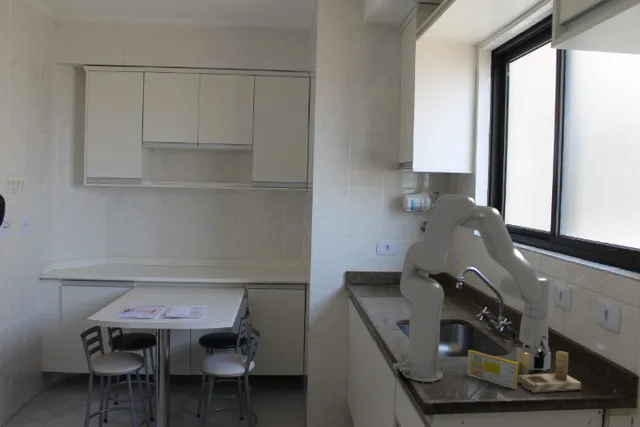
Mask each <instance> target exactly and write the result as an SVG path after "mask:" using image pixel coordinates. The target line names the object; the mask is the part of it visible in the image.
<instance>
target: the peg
mask: <svg viewBox="0 0 640 427" xmlns="http://www.w3.org/2000/svg"><path fill="white" fill-rule="evenodd" d="M529 363H530V352H528V351H524V350H520V351H519V357H518V375H530V371H529Z"/></svg>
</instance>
